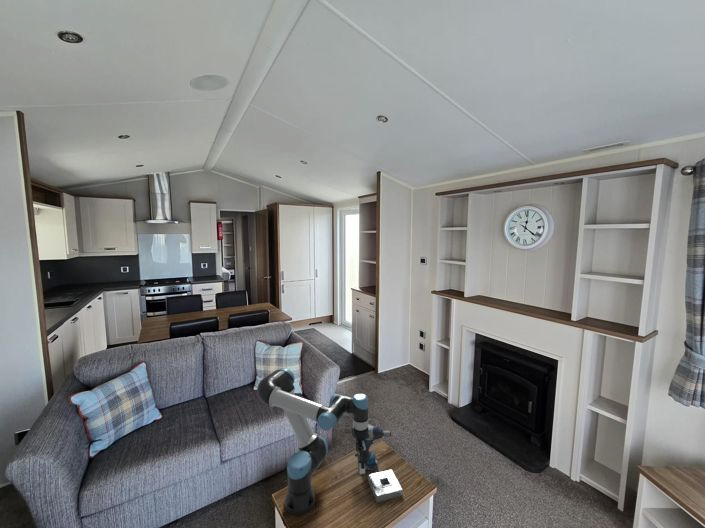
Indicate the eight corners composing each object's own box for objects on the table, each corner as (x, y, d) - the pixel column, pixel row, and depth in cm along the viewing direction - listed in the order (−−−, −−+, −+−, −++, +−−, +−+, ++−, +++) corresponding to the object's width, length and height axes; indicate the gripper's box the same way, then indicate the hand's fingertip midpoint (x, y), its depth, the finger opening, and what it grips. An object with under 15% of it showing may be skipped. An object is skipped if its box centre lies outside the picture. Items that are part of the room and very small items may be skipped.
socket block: (376, 502, 157) (376, 495, 157) (367, 480, 170) (367, 474, 170) (402, 495, 161) (402, 489, 161) (391, 475, 174) (391, 469, 174)
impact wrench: (390, 475, 174) (390, 433, 171) (350, 468, 179) (350, 428, 176) (391, 464, 182) (391, 424, 179) (353, 458, 187) (353, 419, 184)
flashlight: (356, 477, 154) (355, 454, 152) (354, 471, 157) (353, 449, 156) (368, 474, 155) (368, 452, 154) (366, 469, 159) (366, 447, 157)
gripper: (373, 435, 146) (373, 481, 149) (363, 415, 162) (363, 457, 165) (357, 438, 145) (358, 484, 147) (349, 418, 160) (349, 460, 163)
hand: (361, 470), depth 156 cm, fingers closed on flashlight, 3 cm apart
